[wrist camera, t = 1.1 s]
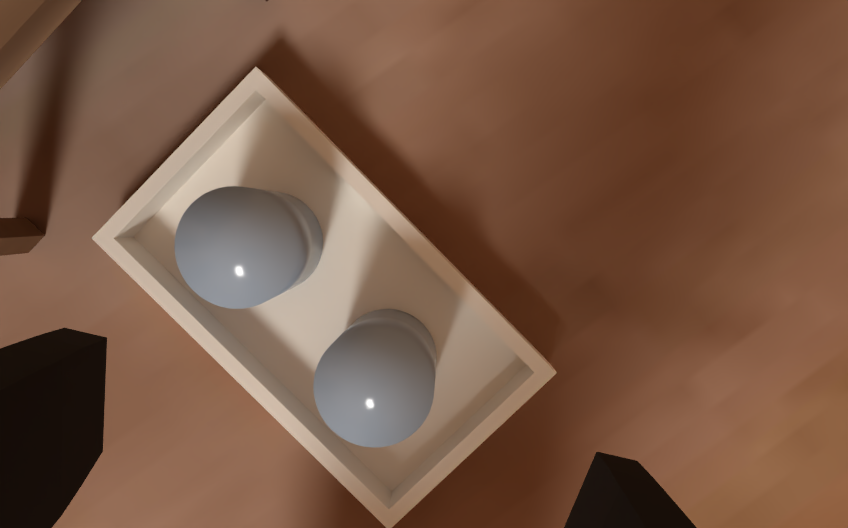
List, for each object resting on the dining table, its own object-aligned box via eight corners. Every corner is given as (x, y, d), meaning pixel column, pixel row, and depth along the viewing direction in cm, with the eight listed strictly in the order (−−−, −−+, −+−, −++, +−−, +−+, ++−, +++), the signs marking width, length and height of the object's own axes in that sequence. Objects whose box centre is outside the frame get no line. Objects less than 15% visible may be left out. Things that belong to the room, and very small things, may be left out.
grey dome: (343, 242, 24) (321, 248, 20) (274, 311, 24) (236, 333, 20) (272, 170, 24) (233, 160, 19) (203, 241, 24) (149, 247, 20)
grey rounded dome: (457, 359, 24) (459, 390, 20) (386, 426, 25) (372, 471, 20) (388, 288, 24) (374, 302, 20) (318, 356, 25) (288, 386, 20)
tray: (546, 358, 25) (557, 372, 23) (393, 502, 26) (388, 530, 24) (272, 80, 24) (255, 66, 22) (123, 235, 25) (91, 238, 23)
